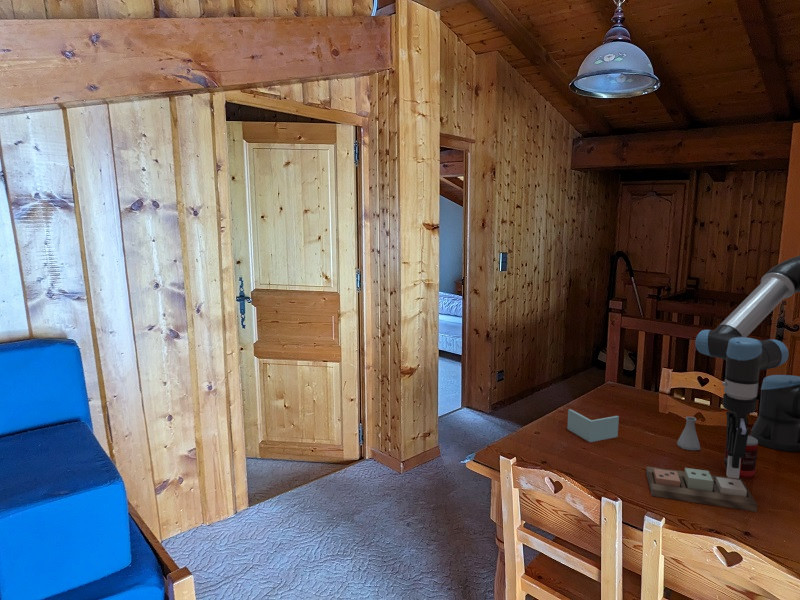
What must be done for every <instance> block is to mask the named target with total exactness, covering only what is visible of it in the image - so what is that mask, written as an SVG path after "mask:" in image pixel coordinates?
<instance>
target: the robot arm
mask: <svg viewBox="0 0 800 600" xmlns="http://www.w3.org/2000/svg"><path fill="white" fill-rule="evenodd" d="M795 293H800V255H797V256H793V257H790V258H788V259H785V260H784V261H782V262H780V263H778V264H776V265H775V266H773V267H772V268H770V269H769V270H768V271H767V272H766V273H765V274H764V275H763V276H762V277H761V278H760V284H759V285H758V286H757V287H755V289H753V291H751V293H750V294H749V295H748V296H747V297H746V298H745V299H744V300H743V301H742V302H741V303H740V304H739V305H738V306H737V307H736V308H735V309H734V310H733V311H732V312H731V313H730V314H729V315H728V316H727V317H726V318H724V320H722V322H721V323H720V324H719V325H717V327H716V328H715V329H713V330H712V329H702V330H701V331H700V332H699V333H698V334H697V335H696V338H695V341H694V343H695V349H696V351H698V353H699V354H702V355H705V356H709V357H712V358H717V359H722V360H725V362H726V363H725V375H724V381H723V382H722V384H721V385H722V386H724V388H723V392H724V394H723V396H722V407H723V408H724V409H725V410H727V411H726V412H725V414H726V437H727V442H726V441H725V447H726V446H727V447H728V452H730V453H727V455H728V462H727V472H726V477H729V478H737V479H740V477H739V474H740V463H741V458H744V455H745V449H746V444H747V439H748V435H749V436H752V437H754V438H756V439H757V440H758V445H761V446H762V447H766V448H769V449H773V450H777V451H783V452H784V451H785V452H799V451H800V376H798V375H790V374H772V375H768V376H765V377H763V380H762V384H761V388H760V391H761V392H760V400H759V401H760V402H759V413H758V417H757V419H756V420H755V422H754V424H753V426H752V427H751V429H750V428H748V425H749V418H748V417H747V415H748V414H753V413H755V411H756V410H757V402H758V401H757V397H758V393H759V391H758V390H759V377H760V372H762V371H765V370H770V369H775V368H777V367H779V366H782V365H784V364H785V363H786V362H787V361H788V359H789V356H790V355H789V354H790V353H789V349H788V347H787V345H785V343H784V342H782V341H780V340H778V339H764V340H761V339H756V338H752V337H749V335H750V334H751V333H752V332H753V331H755V329H756V328H757V327H758V326H759V325H760V324H761V323H762V322H763V321H764V320H765V319H766V318H767V317H768V315H769V314H771V313H772V312H773V311H774V309H775V308H776V307H778V305H779V304H780V303H781V302H782V301H783V300H784V299H788V298H790V297H792V296H793V295H794V294H795Z"/></svg>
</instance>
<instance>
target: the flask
mask: <svg viewBox="0 0 800 600" xmlns="http://www.w3.org/2000/svg"><path fill="white" fill-rule="evenodd" d="M685 420H686V422H685V427H684V429H683V430H682V432H681V434H680V436H679V437H678V440H677V441H676V445H677V446H678V447H679V448H681V449H683V450H687V451H701V445H700V444H701V443H700V441H699V438H698V435H697V434H698V433H697V431H696V422H697V418H696V417H694V416H685Z"/></svg>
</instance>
